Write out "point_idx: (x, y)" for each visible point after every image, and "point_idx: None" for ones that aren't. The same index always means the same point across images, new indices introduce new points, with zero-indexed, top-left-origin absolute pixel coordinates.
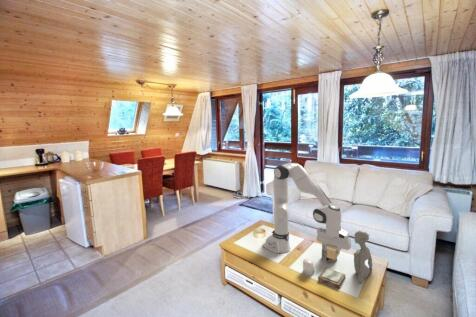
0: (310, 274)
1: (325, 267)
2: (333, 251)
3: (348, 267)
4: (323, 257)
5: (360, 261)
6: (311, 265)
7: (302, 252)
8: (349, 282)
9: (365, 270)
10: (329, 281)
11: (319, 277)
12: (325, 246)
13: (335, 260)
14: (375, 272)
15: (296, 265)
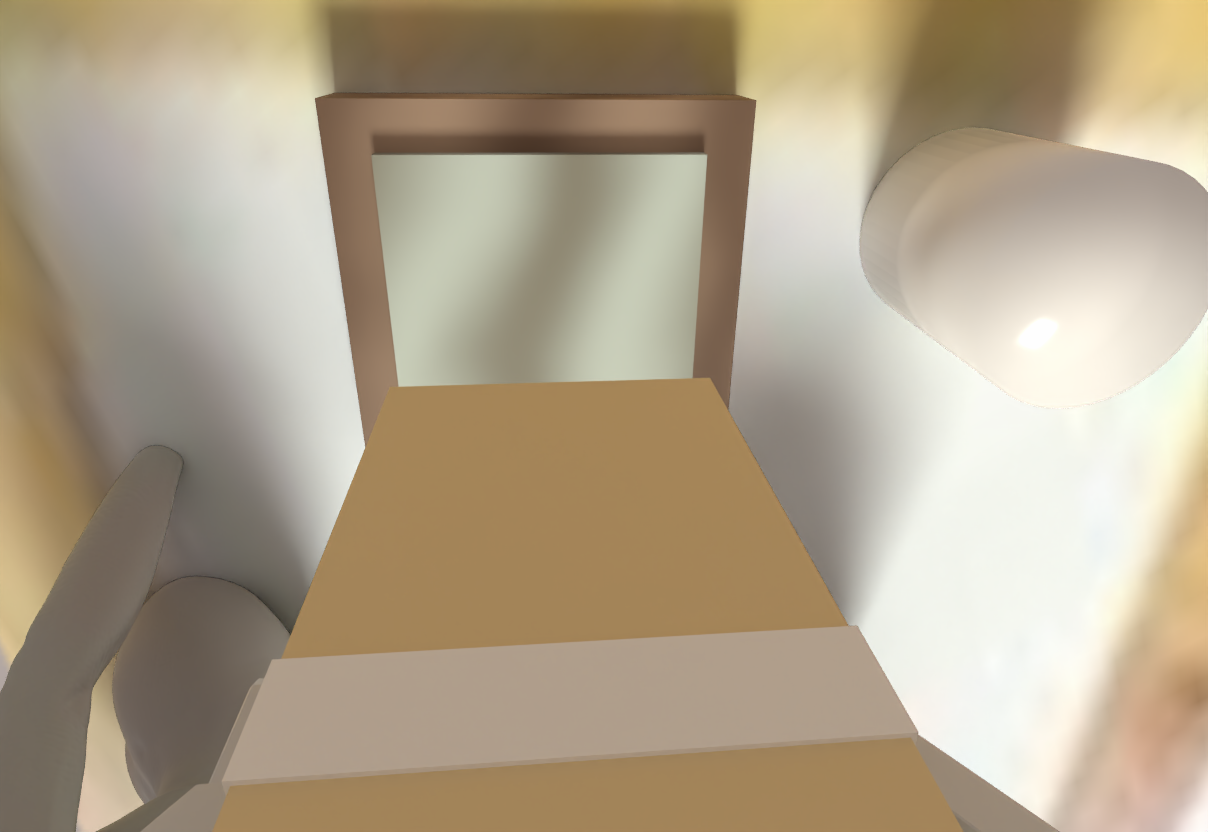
0: (909, 161)
1: None
2: (414, 613)
3: None
4: None
5: (43, 825)
6: (997, 215)
7: (1127, 648)
8: (283, 384)
9: (121, 720)
10: (520, 99)
11: (730, 102)
12: (980, 785)
13: None
14: (125, 788)
15: None
